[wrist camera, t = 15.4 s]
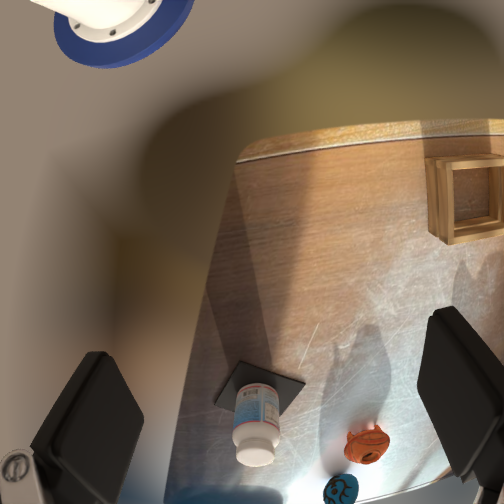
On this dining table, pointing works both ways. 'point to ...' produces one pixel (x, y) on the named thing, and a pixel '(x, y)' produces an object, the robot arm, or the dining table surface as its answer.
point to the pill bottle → (256, 424)
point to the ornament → (341, 490)
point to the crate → (442, 198)
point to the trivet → (253, 374)
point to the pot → (366, 445)
